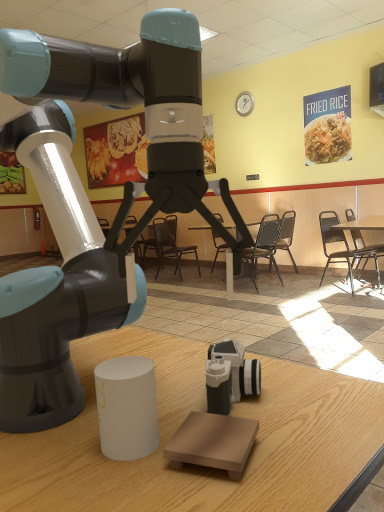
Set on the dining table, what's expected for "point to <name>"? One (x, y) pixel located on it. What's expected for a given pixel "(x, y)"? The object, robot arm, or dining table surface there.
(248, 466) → the dining table surface
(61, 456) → the dining table surface
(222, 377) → the camera
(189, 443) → the wooden stand
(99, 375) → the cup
